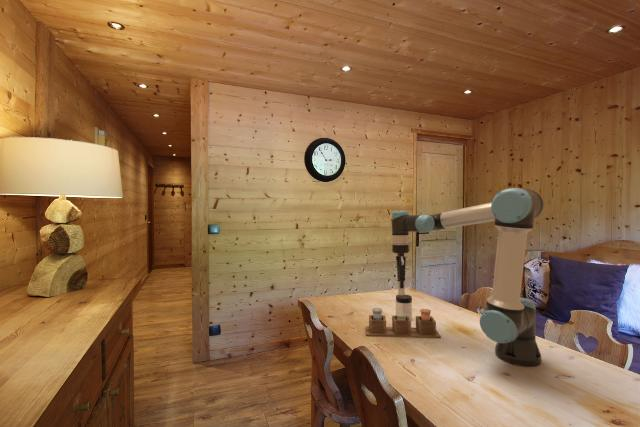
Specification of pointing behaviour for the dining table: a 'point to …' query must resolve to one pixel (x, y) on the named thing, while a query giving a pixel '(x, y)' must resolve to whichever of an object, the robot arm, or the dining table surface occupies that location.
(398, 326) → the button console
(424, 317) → the terracotta plunger
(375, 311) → the pale grey canister
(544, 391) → the dining table surface
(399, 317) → the sage plunger
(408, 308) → the jar
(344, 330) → the dining table surface
